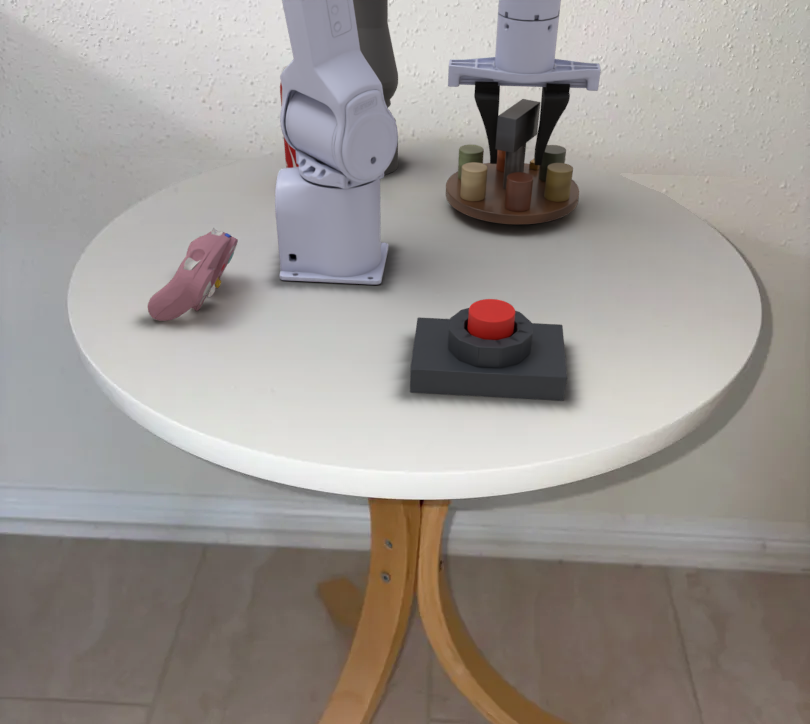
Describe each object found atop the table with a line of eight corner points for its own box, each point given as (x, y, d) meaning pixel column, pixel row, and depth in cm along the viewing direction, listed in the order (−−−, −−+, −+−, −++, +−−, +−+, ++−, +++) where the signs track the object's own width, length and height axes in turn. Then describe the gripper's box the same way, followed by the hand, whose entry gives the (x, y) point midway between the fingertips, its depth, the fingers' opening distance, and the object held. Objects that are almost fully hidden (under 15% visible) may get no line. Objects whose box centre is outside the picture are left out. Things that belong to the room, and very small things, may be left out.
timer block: (409, 393, 71) (410, 348, 69) (417, 340, 77) (417, 297, 74) (563, 401, 71) (570, 357, 68) (559, 347, 76) (565, 304, 74)
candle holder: (408, 162, 106) (412, -97, 89) (379, 180, 102) (376, -88, 85) (364, 151, 108) (359, -103, 91) (334, 168, 104) (323, -95, 87)
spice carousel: (547, 236, 89) (558, 144, 83) (421, 206, 94) (424, 117, 88) (597, 187, 98) (611, 100, 92) (480, 161, 103) (486, 78, 97)
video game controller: (189, 343, 79) (214, 280, 74) (141, 317, 78) (163, 252, 74) (228, 290, 86) (252, 229, 82) (184, 265, 85) (206, 203, 81)
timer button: (466, 340, 70) (468, 320, 69) (468, 317, 73) (469, 297, 72) (513, 343, 70) (515, 322, 69) (513, 319, 73) (515, 299, 71)
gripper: (604, 3, 87) (584, 148, 96) (452, 0, 88) (447, 144, 97) (610, 24, 82) (588, 175, 91) (449, 20, 83) (444, 170, 92)
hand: (516, 161), depth 94 cm, fingers closed on spice carousel, 4 cm apart
